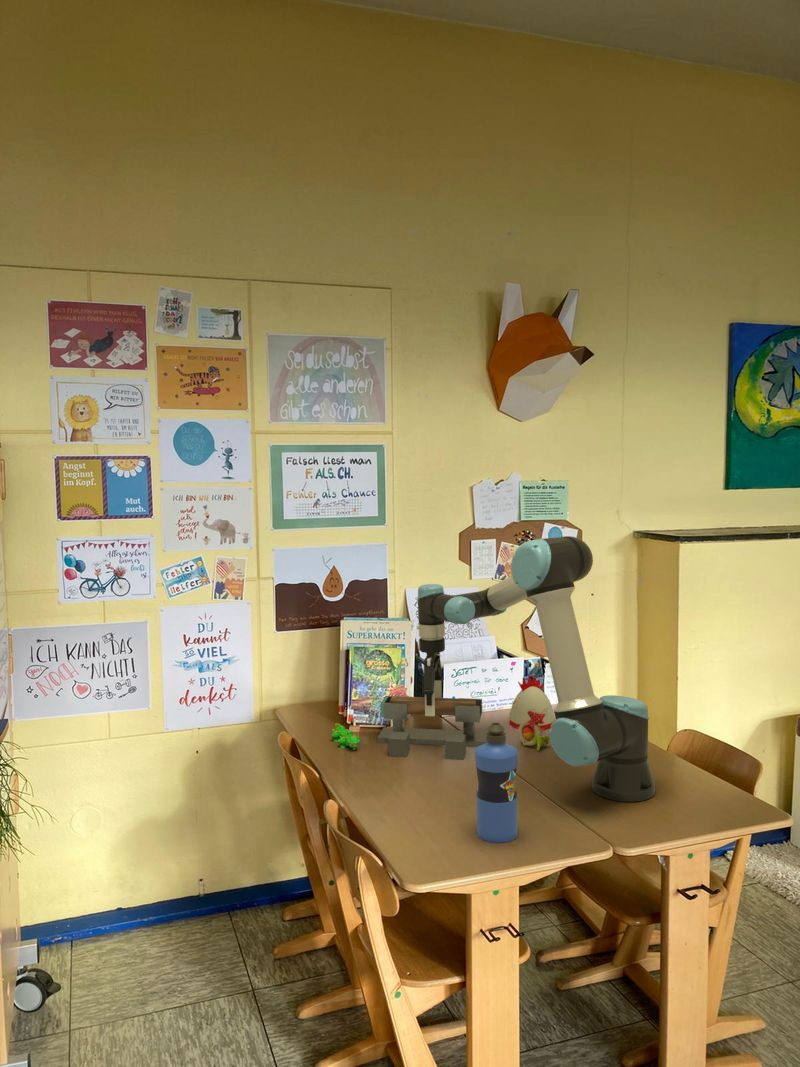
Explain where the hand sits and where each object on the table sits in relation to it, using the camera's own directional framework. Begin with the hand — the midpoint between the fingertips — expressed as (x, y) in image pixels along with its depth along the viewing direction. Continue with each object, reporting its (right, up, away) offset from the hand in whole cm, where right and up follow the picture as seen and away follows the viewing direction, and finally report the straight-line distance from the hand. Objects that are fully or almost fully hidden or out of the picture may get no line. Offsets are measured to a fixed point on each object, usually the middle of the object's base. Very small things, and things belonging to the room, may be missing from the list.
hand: (433, 708), depth 245 cm
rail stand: (0, -9, +1) cm, 9 cm away
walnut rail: (0, -1, 0) cm, 1 cm away
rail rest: (-2, -10, -11) cm, 15 cm away
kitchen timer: (+31, -8, +13) cm, 35 cm away
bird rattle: (+28, -10, -7) cm, 30 cm away
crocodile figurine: (-26, -10, 0) cm, 28 cm away
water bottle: (+12, -15, -60) cm, 63 cm away
